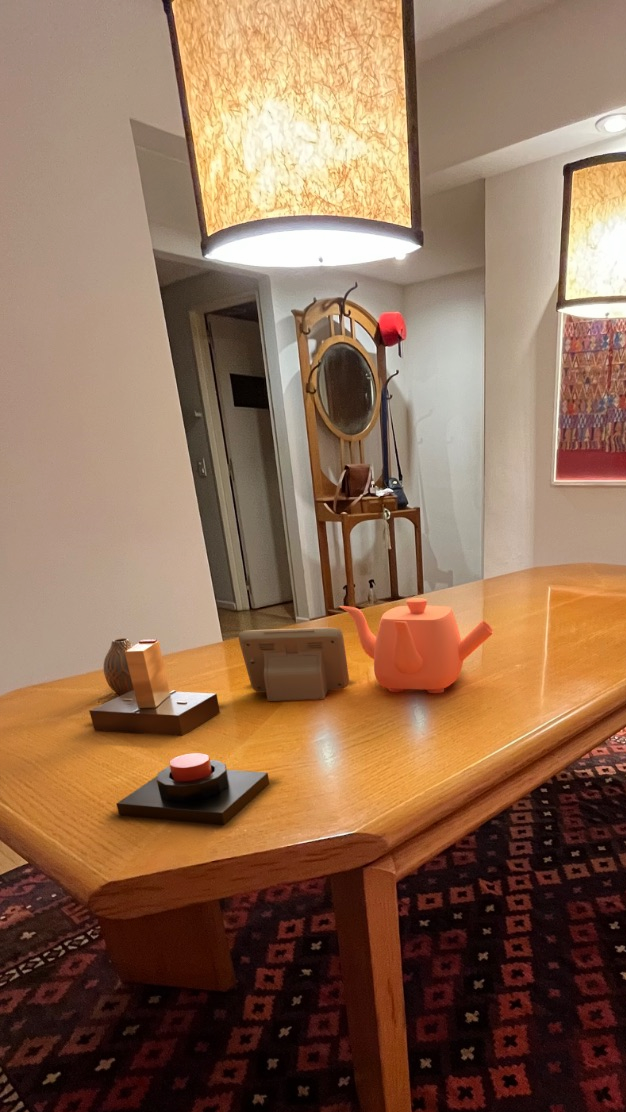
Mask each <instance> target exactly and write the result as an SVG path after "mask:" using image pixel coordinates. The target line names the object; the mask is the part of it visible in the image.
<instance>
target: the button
mask: <svg viewBox="0 0 626 1112" xmlns="http://www.w3.org/2000/svg"><path fill="white" fill-rule="evenodd" d="M210 760H211V758H210V756H209V755H208V754H206V753H201V752H191V753H185V754H181V755H178V756H176V757H173V758H172V759H170V760H169V766H170V769H171V774H172V778H173V780H174V781H191V780H198V779H201V778H204V777H207V776H209V775H210V774H212V768H211V763H210Z"/></svg>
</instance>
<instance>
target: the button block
mask: <svg viewBox="0 0 626 1112" xmlns="http://www.w3.org/2000/svg"><path fill="white" fill-rule="evenodd" d="M210 763H211V768H212V774H210V775H209V776H207V777H204V778H201V779H198V780H191V781H174V780H173V778H172V774H171V769H170V765H169V766H167V767H165V768H163V769H162V770H161V771H158V773H157V775H156V776H155V777H153V778H152V779H151V780H149V781H148V782H146V783H144V784H143V785H142V786H140V787H139V788H137V789H136V790H134V791H133V792H131V793H130V794H128V795H127V796H126V797H124V798H122V799H121V800H119V801H118V802H116V809H117V811H118V816H119V817H129V818H140V819H150V820H159V821H160V820H161V821H170V822H171V821H172V822H181V823H183V822H184V823H193V824H204V825H216V826H226V825H227V824H228V823H229V822H230V821H231V820H232V819H233V818H234V817H236V816H237V814H239V813H240V812H241V811H242V810H243V809H244V808H245V807H246V806H247V805H249V804H250V803H251V802H252V801H253V800H255V798H256V797H257V796H258V795H259V794H261V793H262V791H264V790H265V789H266V788H267V787H268V786H269V785H270V778H269V773H268V772H264V771H252V770H237V769H227V764H226V763H225V762H222V761H219V760H217V759H210Z"/></svg>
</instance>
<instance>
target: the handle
mask: <svg viewBox="0 0 626 1112" xmlns="http://www.w3.org/2000/svg"><path fill="white" fill-rule="evenodd" d="M125 655H126V659H127V664H128V668H129V672H130V676H131V680H132V684H133V689H134V693H135V697H136V701H137V705H138V708H156V707H157V706H158V705H159V704H160V703H161V702H162V701H164V700H165V699H166V698H167V697H168V696H169V695H170V687H169V682H168V678H167V673H166V668H165V664H164V658H163V655H162V650H161V646H160V641H159V640H158V639H155V638H154V639H141V640H138V643H136V644H134V645H133V647H131V648H130V649H128V650H127V651H125Z"/></svg>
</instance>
